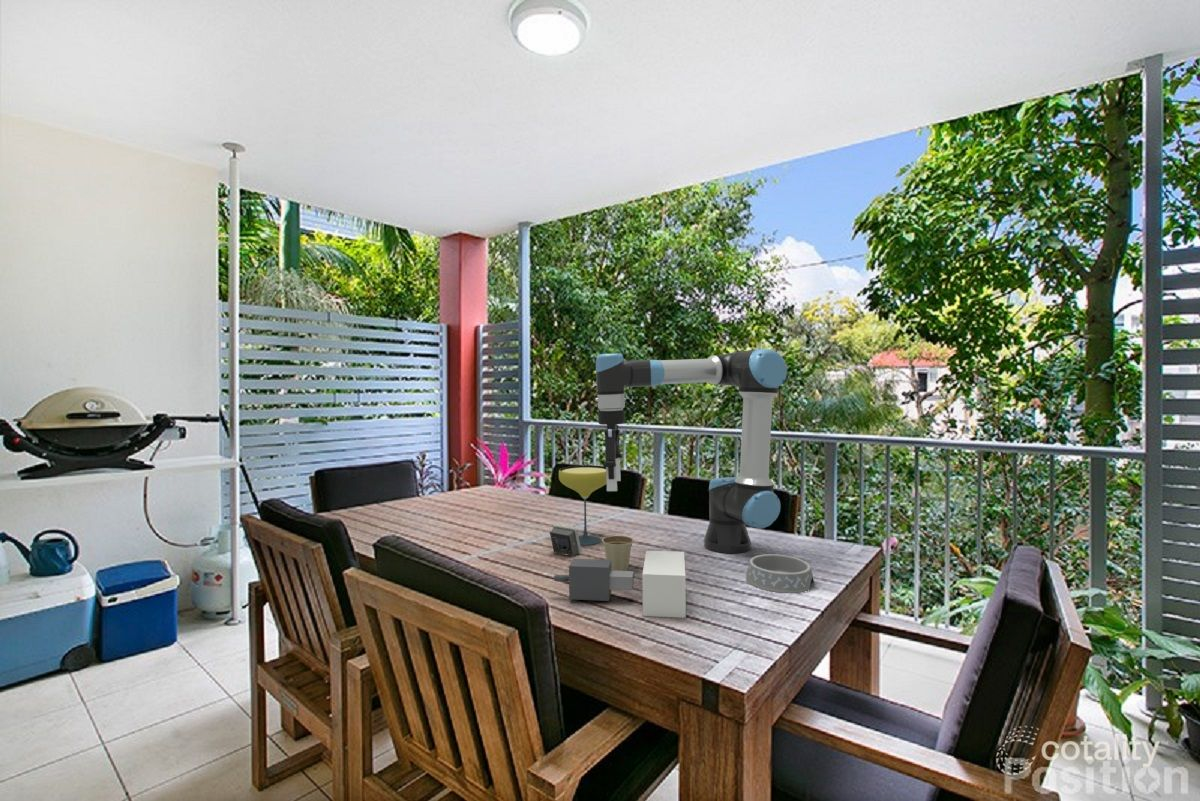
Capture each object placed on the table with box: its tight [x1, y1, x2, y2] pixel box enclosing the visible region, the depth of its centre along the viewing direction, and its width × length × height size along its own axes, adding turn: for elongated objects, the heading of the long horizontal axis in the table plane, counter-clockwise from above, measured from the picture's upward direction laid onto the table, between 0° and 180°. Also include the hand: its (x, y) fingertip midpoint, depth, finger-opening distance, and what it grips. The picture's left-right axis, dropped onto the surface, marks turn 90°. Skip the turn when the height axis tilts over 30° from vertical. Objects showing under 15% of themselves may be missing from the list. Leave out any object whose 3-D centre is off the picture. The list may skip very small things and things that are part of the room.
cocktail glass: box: [558, 464, 607, 546], centre depth 191 cm, size 18×18×25 cm
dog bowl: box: [745, 553, 815, 594], centre depth 152 cm, size 17×18×5 cm
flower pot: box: [601, 535, 635, 571], centre depth 163 cm, size 9×9×9 cm
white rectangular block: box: [642, 550, 687, 619], centre depth 139 cm, size 10×18×10 cm, turn 173°
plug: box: [553, 558, 634, 602], centre depth 141 cm, size 20×6×8 cm, turn 83°
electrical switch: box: [549, 524, 582, 557], centre depth 177 cm, size 9×5×9 cm, turn 57°
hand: (614, 485), depth 154 cm, fingers open, 13 cm apart
